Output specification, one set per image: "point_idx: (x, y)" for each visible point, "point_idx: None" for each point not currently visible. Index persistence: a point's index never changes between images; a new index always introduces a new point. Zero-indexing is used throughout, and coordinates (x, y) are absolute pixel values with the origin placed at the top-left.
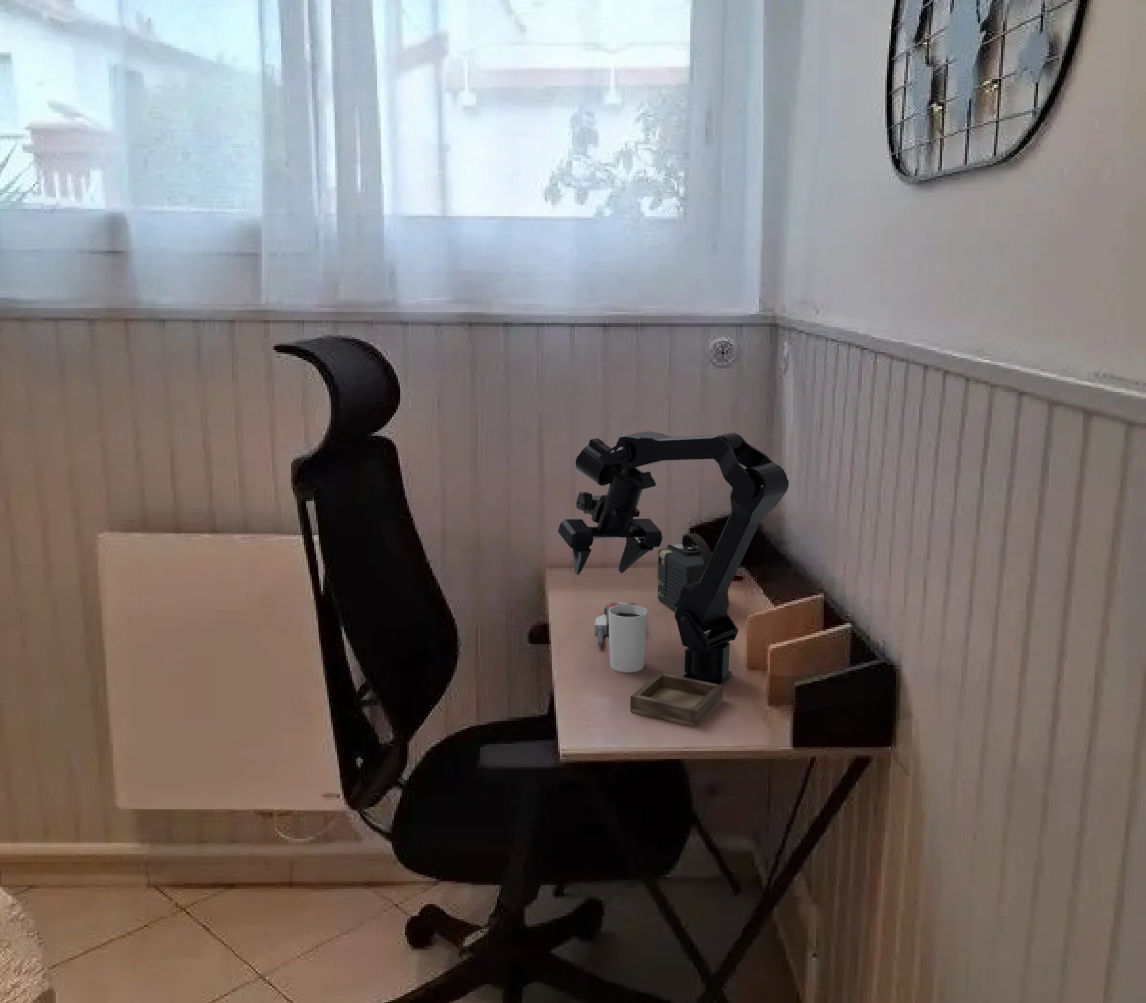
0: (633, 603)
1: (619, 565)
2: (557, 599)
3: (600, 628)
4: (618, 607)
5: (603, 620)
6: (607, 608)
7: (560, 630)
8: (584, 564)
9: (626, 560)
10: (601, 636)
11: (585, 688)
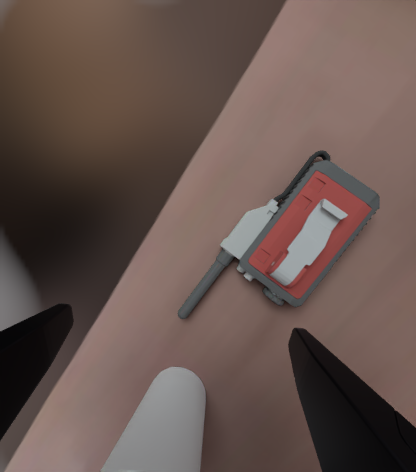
0: (373, 196)
1: (303, 344)
2: (282, 19)
3: (223, 260)
4: (143, 467)
5: (251, 233)
6: (300, 184)
7: (180, 188)
8: (9, 423)
9: (323, 431)
10: (201, 292)
11: (74, 420)
